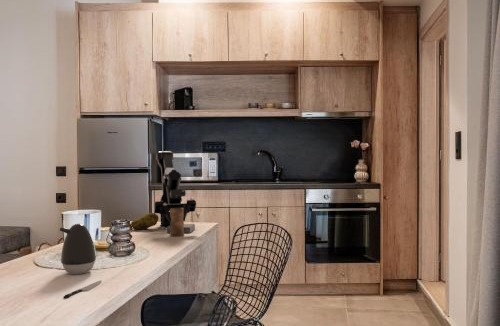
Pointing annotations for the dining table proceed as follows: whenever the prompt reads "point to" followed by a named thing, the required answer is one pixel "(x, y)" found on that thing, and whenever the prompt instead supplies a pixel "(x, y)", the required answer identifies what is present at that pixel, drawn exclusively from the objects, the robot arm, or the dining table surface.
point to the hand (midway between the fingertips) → (177, 221)
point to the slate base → (185, 228)
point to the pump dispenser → (77, 250)
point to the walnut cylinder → (177, 222)
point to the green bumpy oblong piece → (145, 221)
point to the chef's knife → (84, 289)
